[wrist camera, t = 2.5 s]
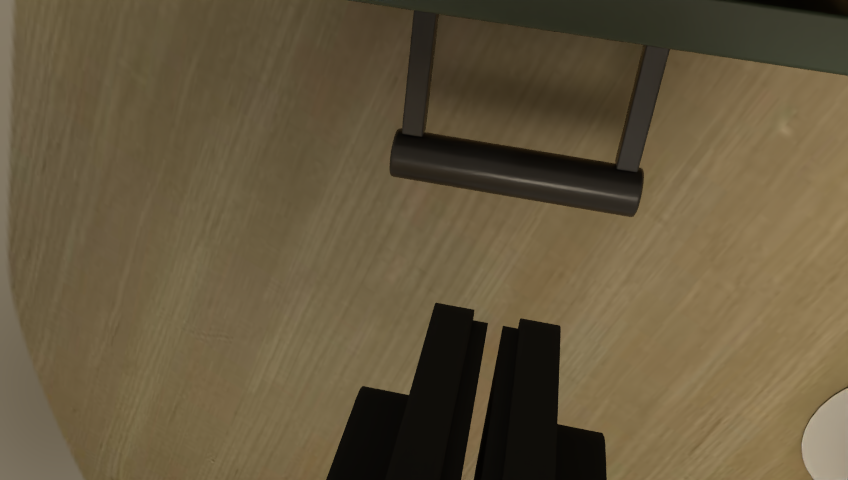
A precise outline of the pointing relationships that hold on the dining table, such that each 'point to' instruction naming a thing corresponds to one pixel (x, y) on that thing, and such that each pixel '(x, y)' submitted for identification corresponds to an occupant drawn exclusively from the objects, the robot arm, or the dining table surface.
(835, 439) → the champagne flute
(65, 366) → the dining table surface
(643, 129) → the drawer
